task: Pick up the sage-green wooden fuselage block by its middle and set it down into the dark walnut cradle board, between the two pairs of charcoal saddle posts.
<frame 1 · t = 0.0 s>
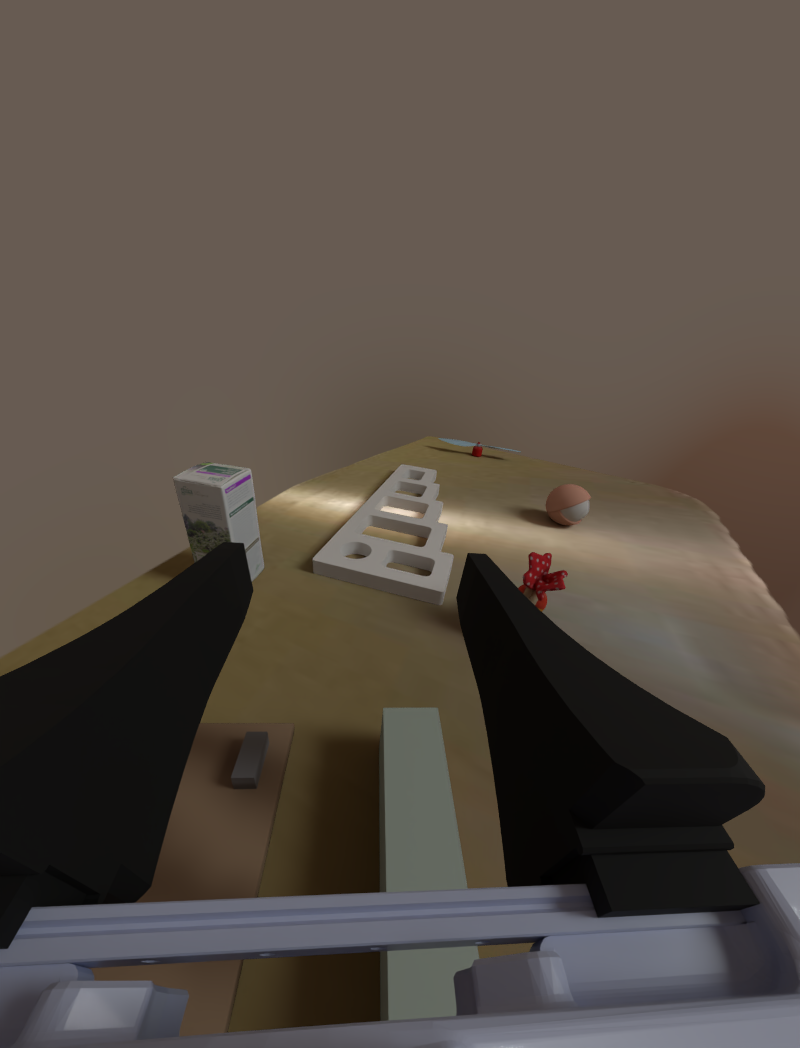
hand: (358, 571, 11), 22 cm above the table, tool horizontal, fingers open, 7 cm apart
fuselage block: (413, 893, 20), on the table
toy ball: (561, 523, 67), on the table
holder: (414, 520, 64), on the table
propeller: (476, 456, 104), on the table
syrup box: (233, 578, 44), on the table
cradle board: (145, 903, 19), on the table
bird rattle: (515, 631, 40), on the table
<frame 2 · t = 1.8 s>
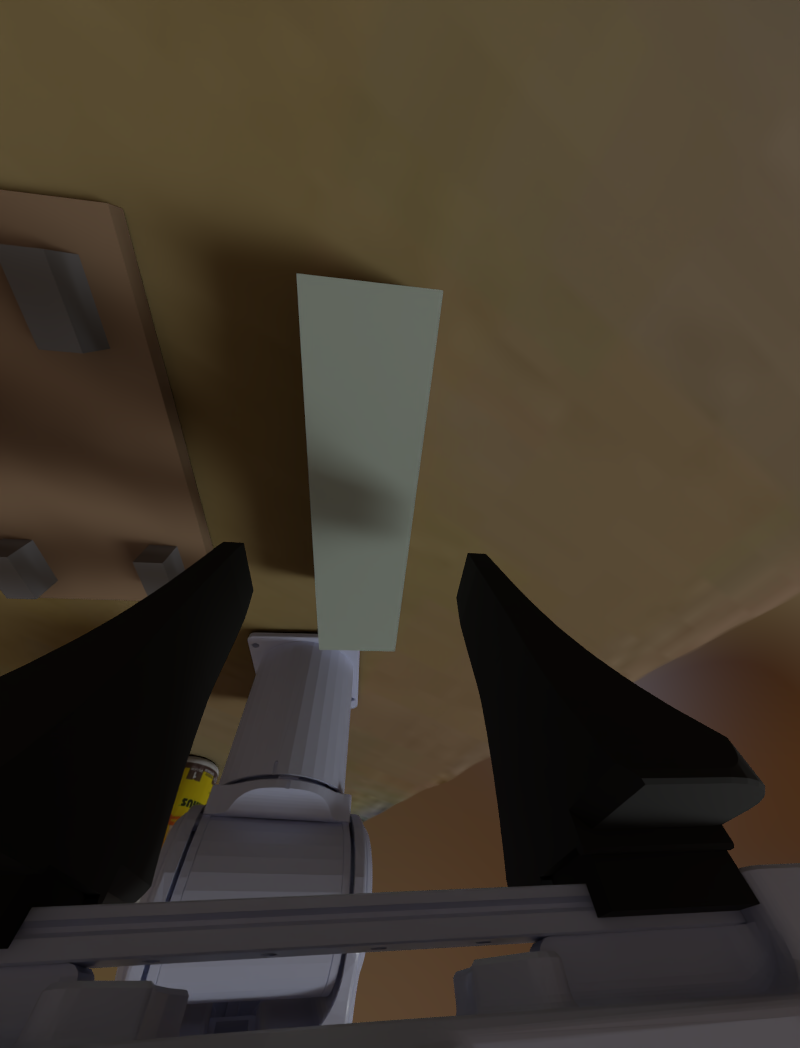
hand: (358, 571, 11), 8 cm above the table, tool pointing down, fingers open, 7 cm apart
fuselage block: (367, 469, 18), on the table
supplement bottle: (193, 763, 36), on the table
cradle board: (62, 451, 17), on the table
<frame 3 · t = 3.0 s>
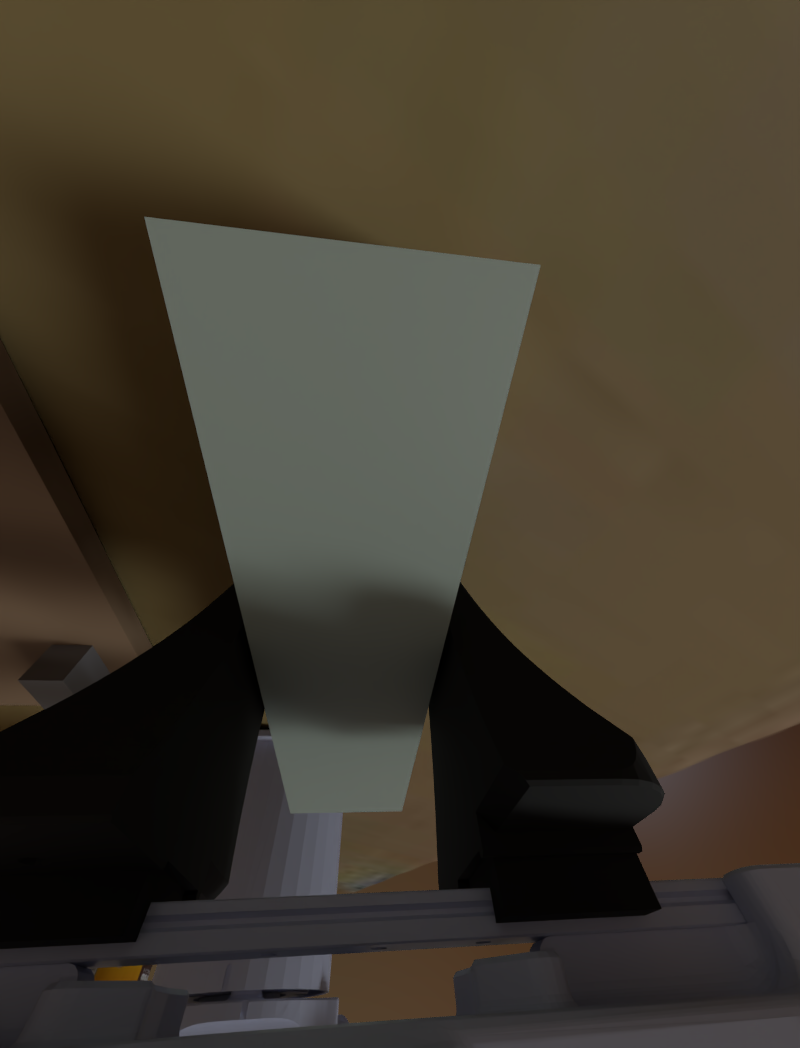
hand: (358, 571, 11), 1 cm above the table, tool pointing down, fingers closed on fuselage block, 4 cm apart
fuselage block: (360, 544, 12), on the table, touching gripper
supplement bottle: (159, 846, 30), on the table
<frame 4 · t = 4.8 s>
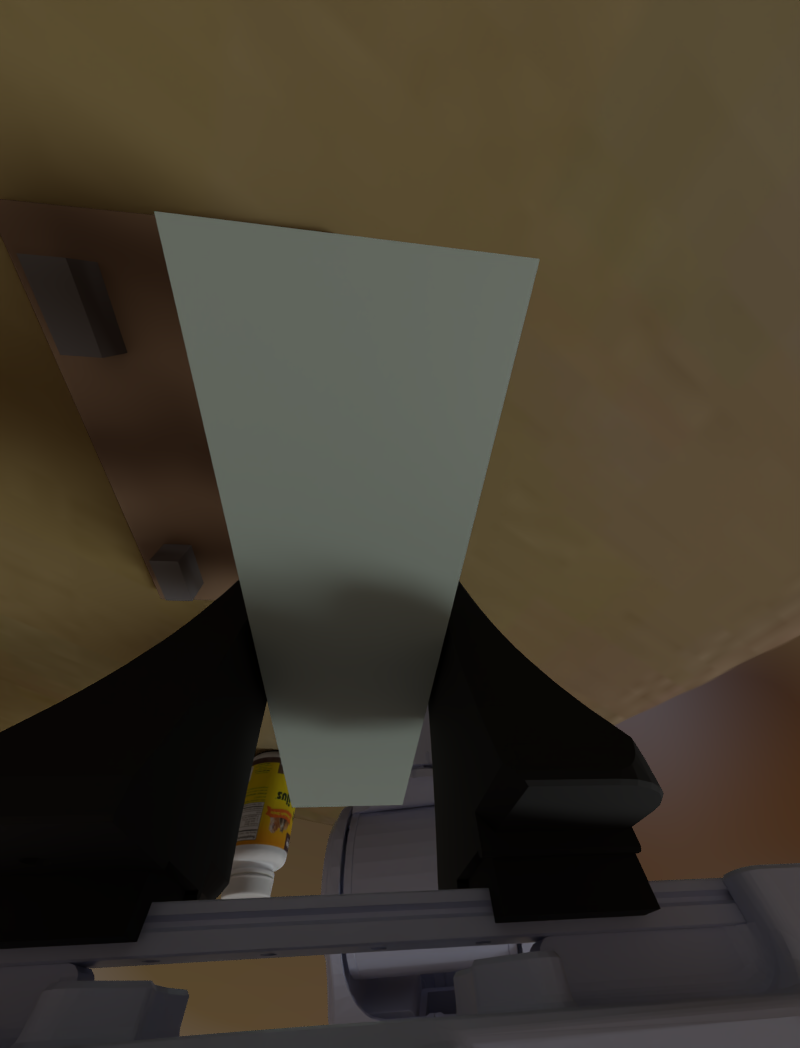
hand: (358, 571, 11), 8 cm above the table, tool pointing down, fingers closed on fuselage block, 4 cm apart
fuselage block: (361, 540, 12), point 7 cm above the table, touching gripper
supplement bottle: (277, 758, 37), on the table
cradle board: (232, 461, 18), on the table
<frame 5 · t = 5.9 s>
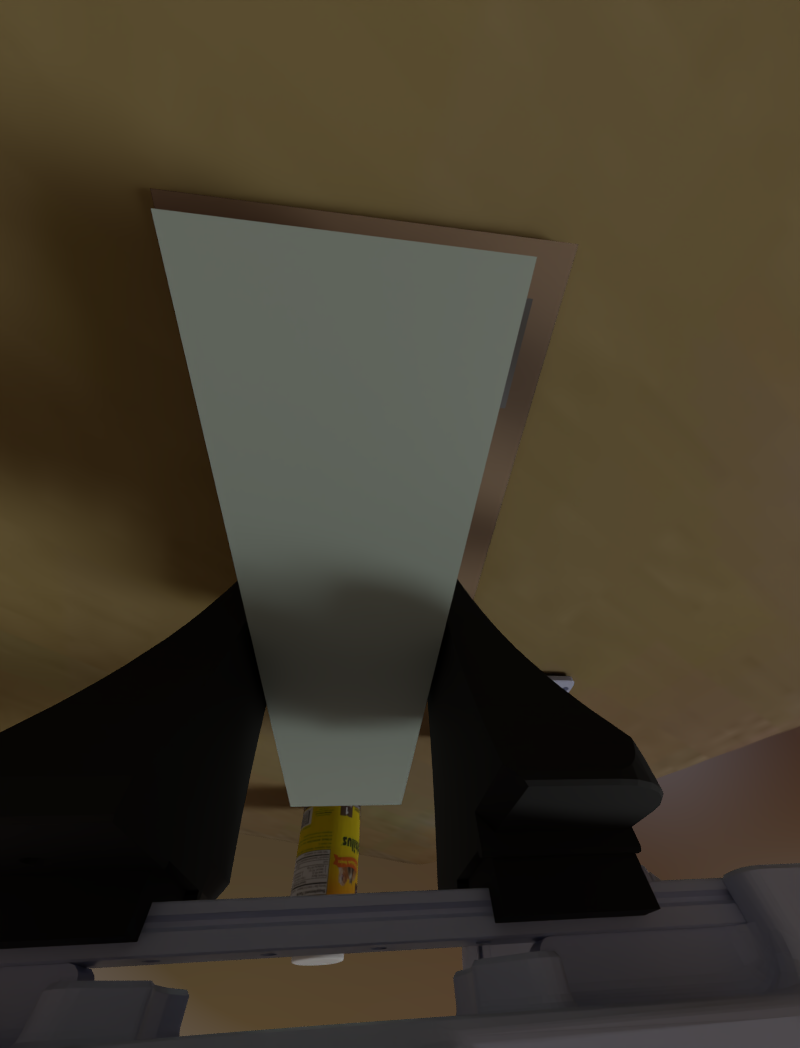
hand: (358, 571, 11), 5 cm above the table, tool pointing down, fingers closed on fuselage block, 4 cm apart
fuselage block: (360, 539, 12), point 3 cm above the table, touching gripper
supplement bottle: (333, 795, 34), on the table
cradle board: (365, 499, 15), on the table
when the fingers open (3 cm above the table, at t = 6.6 s): fuselage block stays where it is, resting on cradle board.
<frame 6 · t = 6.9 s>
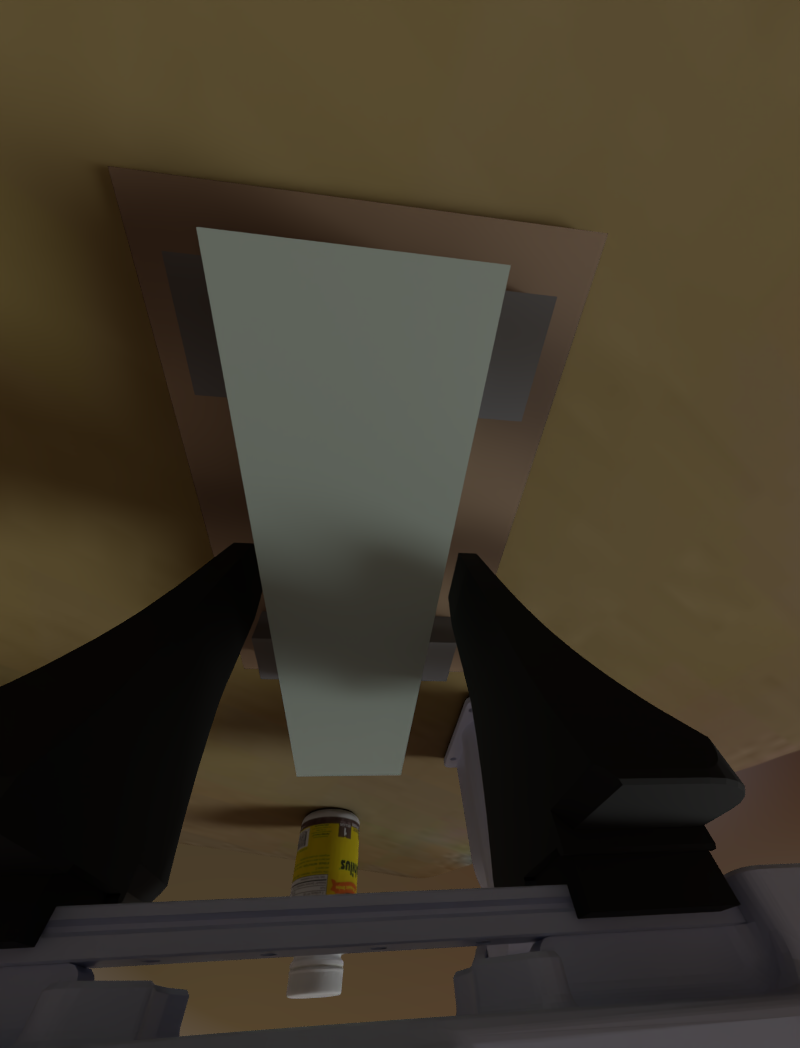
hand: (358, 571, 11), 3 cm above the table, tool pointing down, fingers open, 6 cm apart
fuselage block: (362, 526, 13), point 1 cm above the table, touching cradle board
supplement bottle: (331, 814, 33), on the table
cradle board: (363, 516, 14), on the table
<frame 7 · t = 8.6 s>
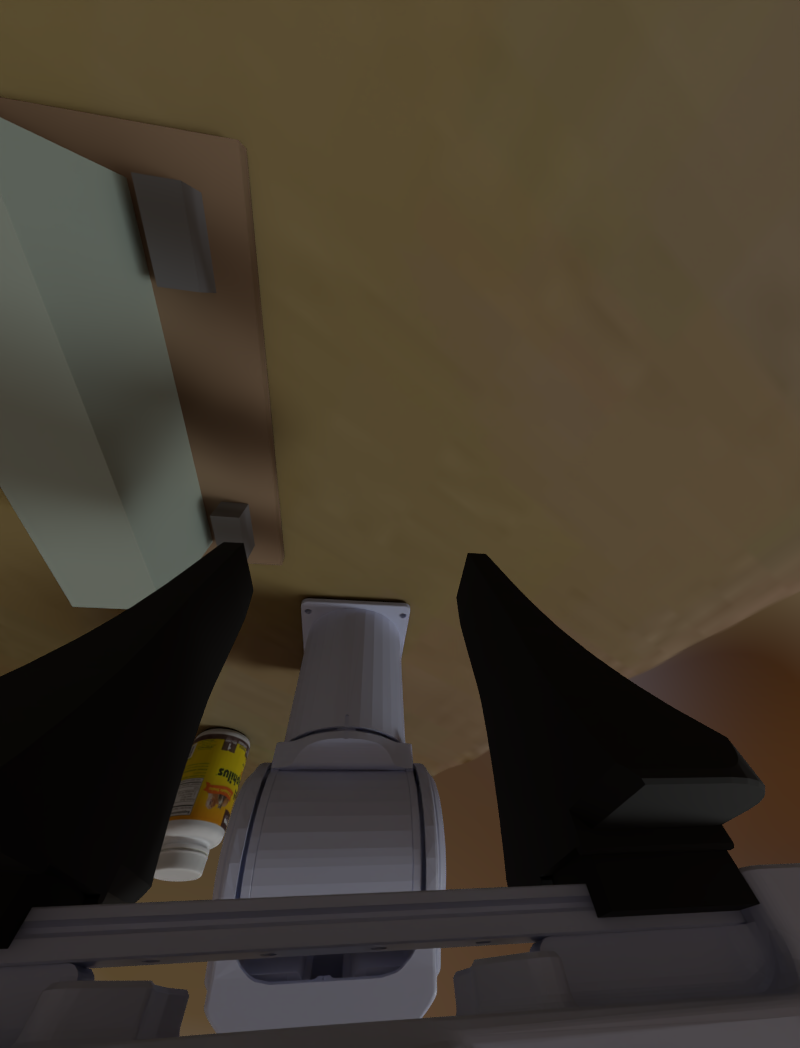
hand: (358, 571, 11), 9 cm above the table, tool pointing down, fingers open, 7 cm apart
fuselage block: (136, 404, 16), point 1 cm above the table, touching cradle board
supplement bottle: (225, 736, 36), on the table
cradle board: (146, 401, 17), on the table
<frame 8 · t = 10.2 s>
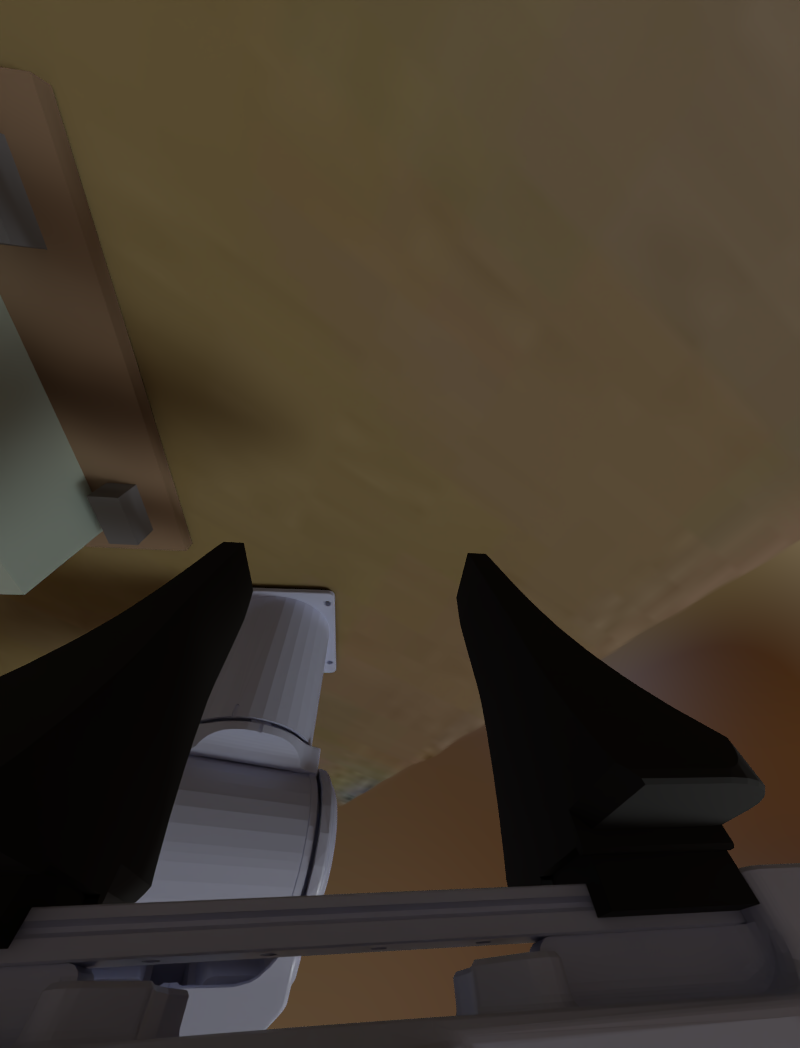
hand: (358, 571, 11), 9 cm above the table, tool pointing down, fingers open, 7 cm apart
cradle board: (9, 375, 16), on the table
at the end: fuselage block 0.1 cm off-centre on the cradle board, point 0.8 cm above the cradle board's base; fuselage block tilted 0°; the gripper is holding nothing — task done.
